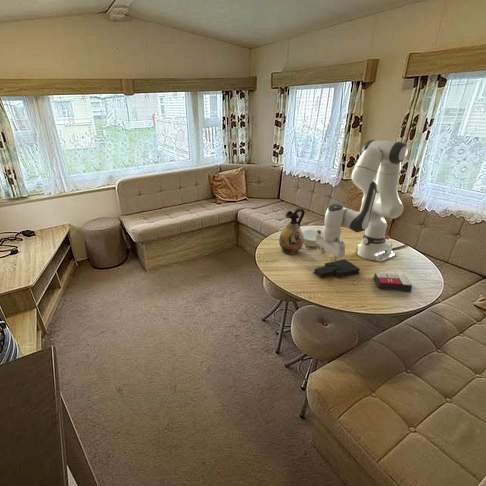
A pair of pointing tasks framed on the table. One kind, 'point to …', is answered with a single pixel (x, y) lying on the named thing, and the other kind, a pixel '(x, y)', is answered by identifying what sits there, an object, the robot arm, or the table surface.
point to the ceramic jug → (292, 233)
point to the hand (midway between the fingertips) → (327, 257)
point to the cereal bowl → (310, 238)
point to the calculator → (392, 281)
